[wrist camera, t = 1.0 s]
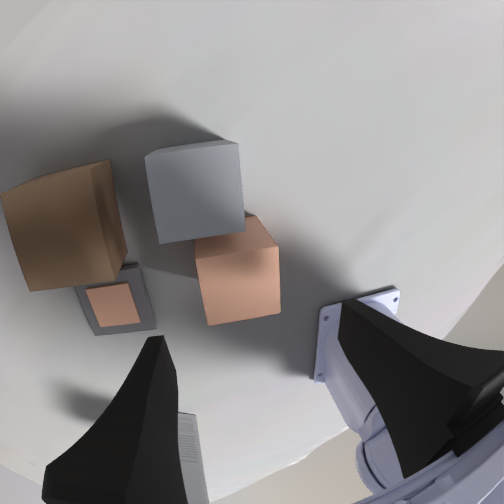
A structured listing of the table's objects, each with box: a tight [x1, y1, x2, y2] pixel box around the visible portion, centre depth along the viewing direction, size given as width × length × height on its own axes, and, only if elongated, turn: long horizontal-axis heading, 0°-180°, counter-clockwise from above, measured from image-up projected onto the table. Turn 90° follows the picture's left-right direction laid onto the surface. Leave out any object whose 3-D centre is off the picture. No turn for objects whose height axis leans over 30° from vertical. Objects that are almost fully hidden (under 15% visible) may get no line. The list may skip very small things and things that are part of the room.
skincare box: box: [178, 413, 210, 504], centre depth 20 cm, size 6×4×12 cm
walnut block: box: [0, 160, 128, 292], centre depth 14 cm, size 6×6×4 cm
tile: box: [74, 264, 156, 336], centre depth 18 cm, size 5×5×1 cm
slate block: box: [144, 139, 246, 244], centre depth 15 cm, size 4×4×5 cm
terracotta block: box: [194, 216, 281, 326], centre depth 17 cm, size 4×4×5 cm
